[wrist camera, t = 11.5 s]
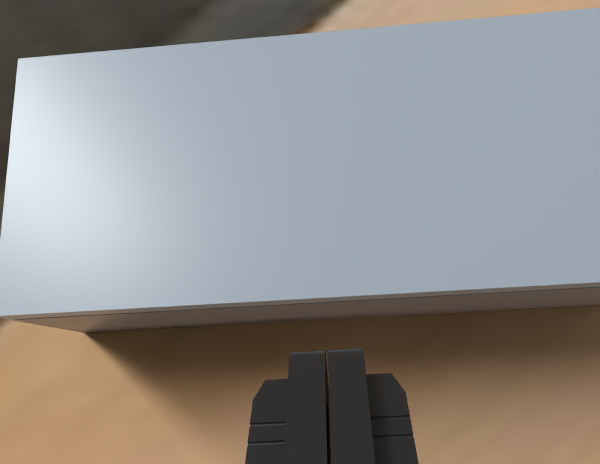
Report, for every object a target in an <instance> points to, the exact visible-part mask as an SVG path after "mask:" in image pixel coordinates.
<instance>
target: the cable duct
mask: <svg viewBox="0 0 600 464" xmlns="http://www.w3.org/2000/svg"><path fill="white" fill-rule="evenodd" d="M585 305H600V287H585V288H567V289H549V290H531V291H513V292H495V293H477V294H459V295H441V296H423V297H405V298H387V299H369V300H351V301H333V302H315V303H297V304H279V305H261V306H243V307H225V308H207V309H189V310H171V311H153V312H135V313H117V314H100V315H82V316H64V317H46V318H28V319H12V320H14V321H20V322H26V323H31V324H37V325H43V326H49V327H55V328H60V329H66V330H72V331H78V332H100V331H118V330H137V329H156V328H174V327H193V326H212V325H231V324H249V323H268V322H287V321H305V320H324V319H343V318H361V317H380V316H399V315H417V314H436V313H455V312H473V311H492V310H511V309H529V308H548V307H567V306H585Z"/></svg>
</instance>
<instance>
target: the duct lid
mask: <svg viewBox="0 0 600 464" xmlns="http://www.w3.org/2000/svg"><path fill="white" fill-rule="evenodd" d="M585 287H600V8H592V9H580V10H569V11H557V12H546V13H535V14H523V15H512V16H501V17H489V18H478V19H466V20H455V21H444V22H432V23H421V24H409V25H398V26H387V27H375V28H364V29H352V30H341V31H330V32H318V33H307V34H296V35H284V36H273V37H261V38H250V39H239V40H227V41H216V42H204V43H193V44H182V45H170V46H159V47H147V48H136V49H125V50H113V51H102V52H91V53H79V54H68V55H56V56H45V57H34V58H22V59H18V67H17V77H16V87H15V97H14V107H13V117H12V127H11V138H10V148H9V158H8V168H7V178H6V188H5V198H4V208H3V219H2V229H1V239H0V318H4V319H9V320H10V319H28V318H46V317H64V316H82V315H100V314H117V313H135V312H153V311H171V310H189V309H207V308H225V307H243V306H261V305H279V304H297V303H315V302H333V301H351V300H369V299H387V298H405V297H423V296H441V295H459V294H477V293H495V292H513V291H531V290H549V289H567V288H585Z"/></svg>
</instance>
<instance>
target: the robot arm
mask: <svg viewBox="0 0 600 464" xmlns="http://www.w3.org/2000/svg"><path fill="white" fill-rule="evenodd" d="M328 371H329V384H328V373H327V363H326V353H325V351H312V352H294V353H290V356H289V374H288V379H278V380H265V382H264V383H263V385H262V387H261V388H260V390H259V391H258V393H257V395H256V396H255V398H254V399H253V404H252V412H251V420H250V429H249V437H248V447H247V454H246V462H245V464H418V458H417V453H416V447H415V442H414V438H413V431H412V425H411V420H410V414H409V409H408V403H407V398H406V392H405V391H404V390H403V388H402V387H401V386H400V384H399V383H398V382H397V380H396V379H395V377H394V376H393V375H392V373H387V374H368V375H366V370H365V361H364V352H363V348H362V349H344V350H328Z"/></svg>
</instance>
